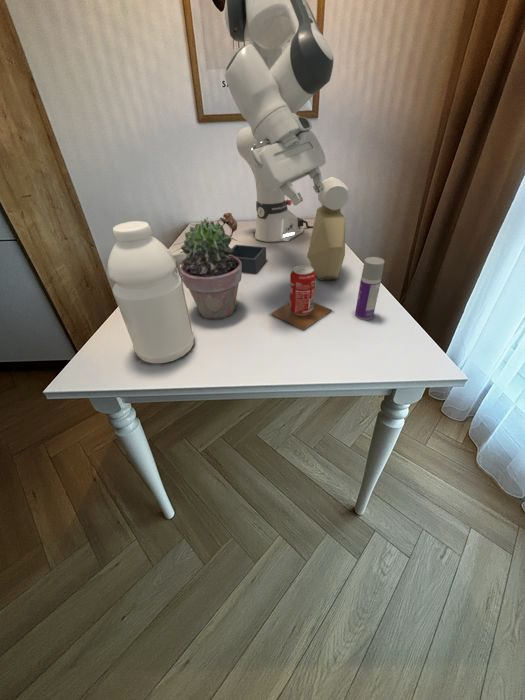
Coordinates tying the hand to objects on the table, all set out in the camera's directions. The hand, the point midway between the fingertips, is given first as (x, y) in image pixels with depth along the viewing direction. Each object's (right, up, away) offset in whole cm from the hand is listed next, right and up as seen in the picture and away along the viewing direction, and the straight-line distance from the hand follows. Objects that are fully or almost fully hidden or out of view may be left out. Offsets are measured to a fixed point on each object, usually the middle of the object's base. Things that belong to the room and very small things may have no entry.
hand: (310, 196), depth 69 cm
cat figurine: (-34, -10, +35) cm, 50 cm away
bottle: (-34, -33, +6) cm, 48 cm away
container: (+16, -25, +13) cm, 33 cm away
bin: (-17, -4, +41) cm, 45 cm away
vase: (+10, -8, +34) cm, 37 cm away
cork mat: (0, -24, +15) cm, 28 cm away
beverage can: (0, -24, +15) cm, 28 cm away
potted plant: (-24, -23, +18) cm, 38 cm away
